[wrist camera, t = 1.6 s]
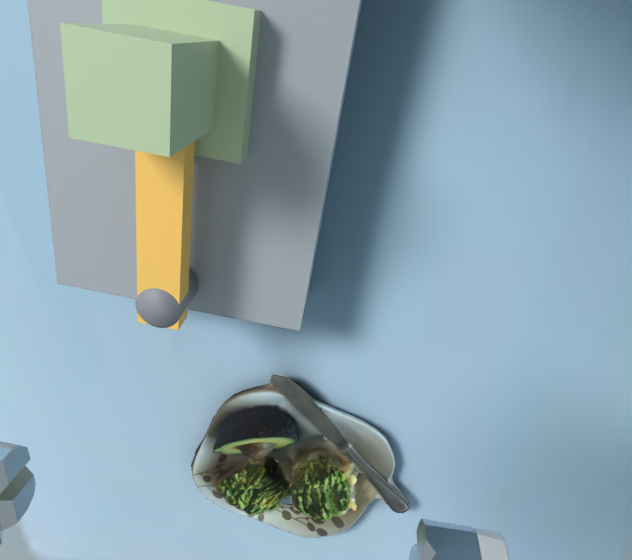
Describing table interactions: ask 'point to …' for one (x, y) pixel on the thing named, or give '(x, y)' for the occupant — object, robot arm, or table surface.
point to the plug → (163, 77)
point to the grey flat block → (210, 168)
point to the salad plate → (294, 461)
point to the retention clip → (164, 237)
